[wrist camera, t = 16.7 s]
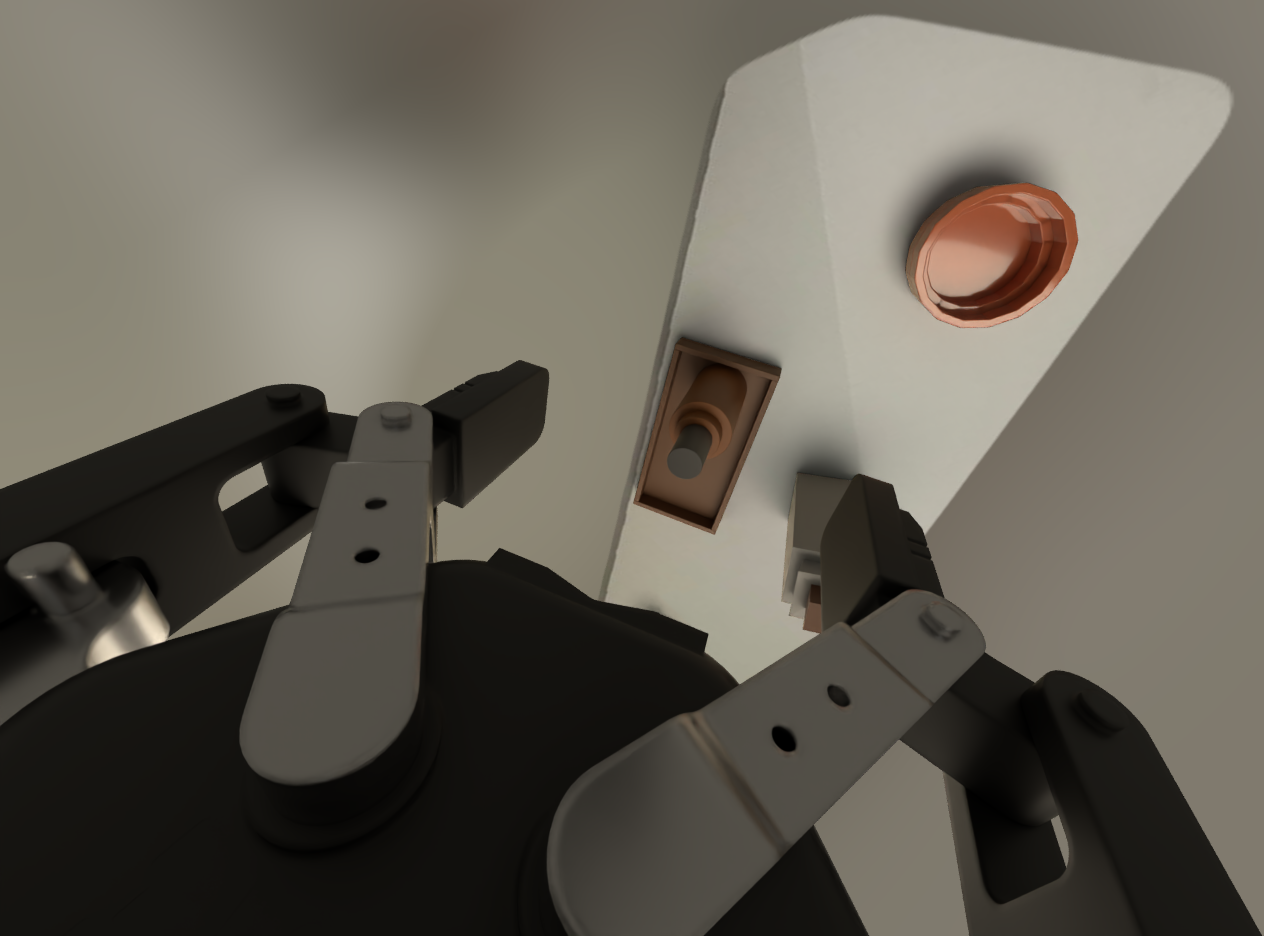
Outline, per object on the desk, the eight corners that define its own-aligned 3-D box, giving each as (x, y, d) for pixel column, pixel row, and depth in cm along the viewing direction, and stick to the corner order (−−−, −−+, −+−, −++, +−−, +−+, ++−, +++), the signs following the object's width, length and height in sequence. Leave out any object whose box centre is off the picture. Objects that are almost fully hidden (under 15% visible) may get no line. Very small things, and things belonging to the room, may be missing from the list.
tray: (681, 336, 49) (675, 343, 47) (781, 368, 47) (780, 376, 45) (639, 492, 61) (633, 503, 59) (718, 522, 59) (714, 535, 57)
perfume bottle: (787, 521, 56) (778, 638, 41) (797, 472, 52) (790, 581, 38) (848, 531, 54) (861, 658, 39) (862, 482, 50) (882, 600, 36)
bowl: (891, 225, 39) (900, 229, 35) (1035, 157, 34) (1065, 153, 30) (920, 332, 42) (932, 346, 38) (1056, 283, 37) (1086, 294, 33)
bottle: (686, 374, 50) (637, 443, 36) (735, 354, 48) (702, 421, 34) (707, 419, 52) (668, 501, 38) (755, 402, 49) (732, 484, 36)
